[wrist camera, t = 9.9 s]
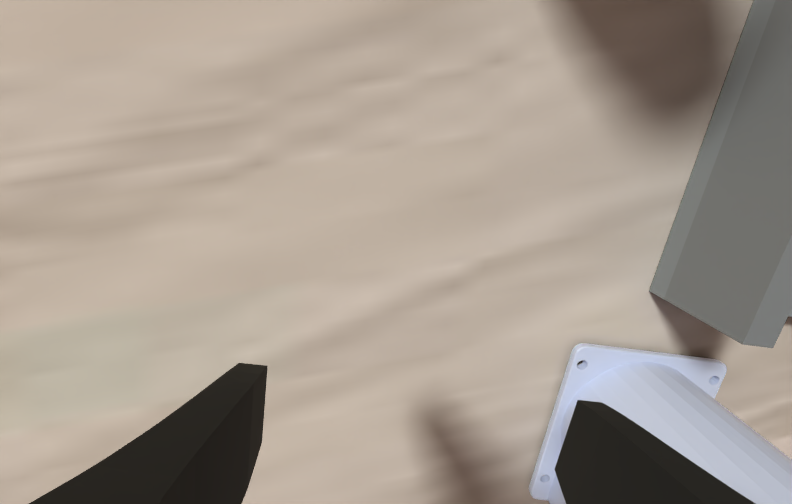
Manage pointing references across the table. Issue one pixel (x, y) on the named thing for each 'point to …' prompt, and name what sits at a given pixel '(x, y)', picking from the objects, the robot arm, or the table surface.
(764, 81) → the board
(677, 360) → the robot arm
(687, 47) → the table surface
